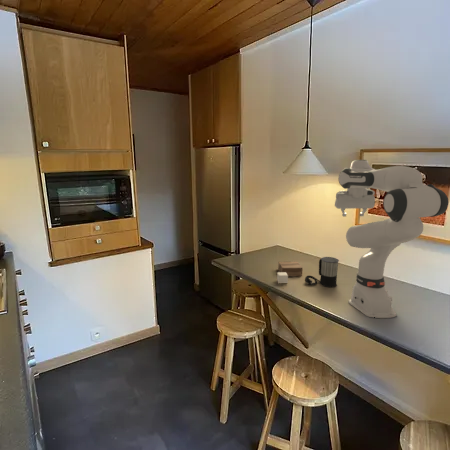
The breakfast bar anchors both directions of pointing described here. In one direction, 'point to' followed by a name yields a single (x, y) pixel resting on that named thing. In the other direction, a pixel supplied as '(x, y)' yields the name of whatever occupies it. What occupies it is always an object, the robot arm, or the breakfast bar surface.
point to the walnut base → (290, 268)
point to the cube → (282, 277)
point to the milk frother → (326, 272)
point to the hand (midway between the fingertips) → (352, 216)
